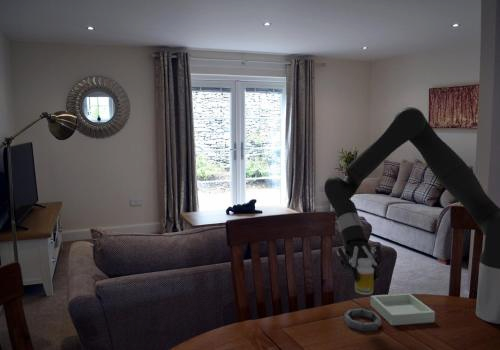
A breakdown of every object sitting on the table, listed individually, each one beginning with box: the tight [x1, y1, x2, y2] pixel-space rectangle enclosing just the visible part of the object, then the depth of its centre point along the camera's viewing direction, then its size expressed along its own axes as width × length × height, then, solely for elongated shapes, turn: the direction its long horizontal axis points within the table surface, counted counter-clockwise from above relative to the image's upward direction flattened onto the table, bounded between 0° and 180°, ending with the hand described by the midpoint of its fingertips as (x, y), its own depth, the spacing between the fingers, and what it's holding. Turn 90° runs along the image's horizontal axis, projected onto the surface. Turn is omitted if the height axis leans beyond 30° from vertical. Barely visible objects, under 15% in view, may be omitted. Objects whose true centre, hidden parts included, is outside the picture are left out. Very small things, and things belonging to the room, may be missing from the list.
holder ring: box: [343, 308, 382, 332], centre depth 121 cm, size 10×10×2 cm
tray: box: [369, 292, 436, 326], centre depth 127 cm, size 14×14×3 cm
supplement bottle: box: [354, 257, 375, 296], centre depth 119 cm, size 5×5×10 cm
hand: (367, 280), depth 117 cm, fingers closed on supplement bottle, 5 cm apart
